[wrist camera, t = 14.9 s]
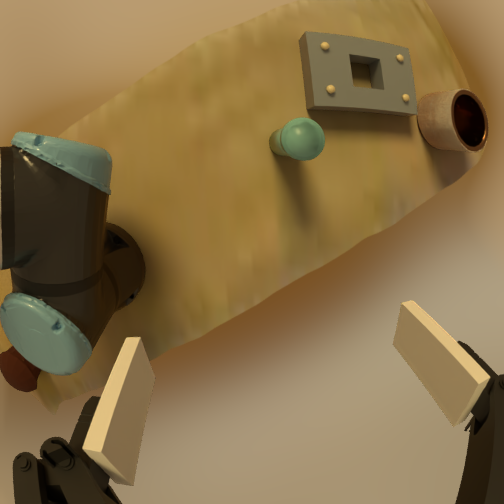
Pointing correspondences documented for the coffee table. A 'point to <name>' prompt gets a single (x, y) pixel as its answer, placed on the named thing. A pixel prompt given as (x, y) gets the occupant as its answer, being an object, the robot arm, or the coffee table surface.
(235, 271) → the coffee table surface
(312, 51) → the grey socket block
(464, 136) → the planter
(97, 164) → the robot arm
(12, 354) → the muffin
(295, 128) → the plug
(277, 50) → the coffee table surface
